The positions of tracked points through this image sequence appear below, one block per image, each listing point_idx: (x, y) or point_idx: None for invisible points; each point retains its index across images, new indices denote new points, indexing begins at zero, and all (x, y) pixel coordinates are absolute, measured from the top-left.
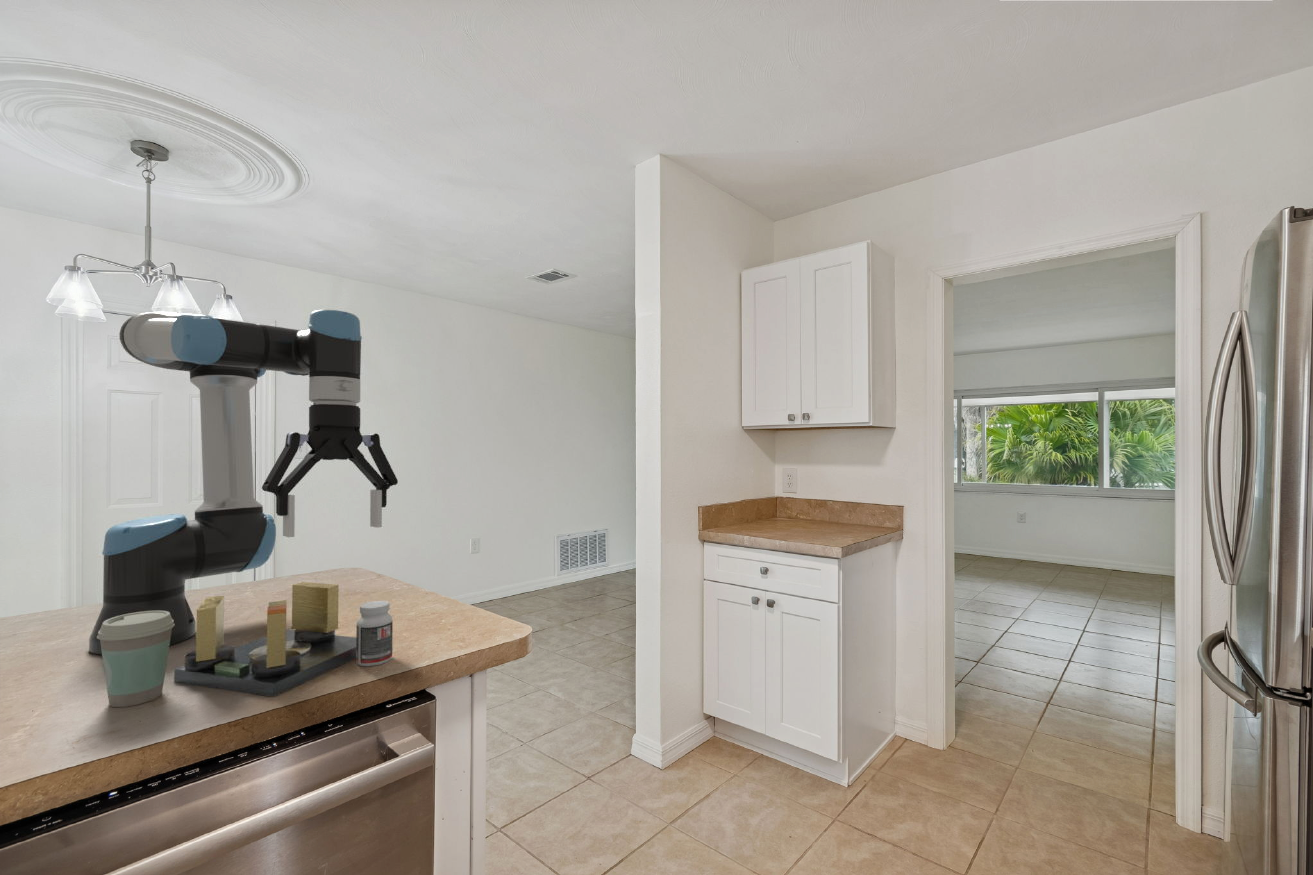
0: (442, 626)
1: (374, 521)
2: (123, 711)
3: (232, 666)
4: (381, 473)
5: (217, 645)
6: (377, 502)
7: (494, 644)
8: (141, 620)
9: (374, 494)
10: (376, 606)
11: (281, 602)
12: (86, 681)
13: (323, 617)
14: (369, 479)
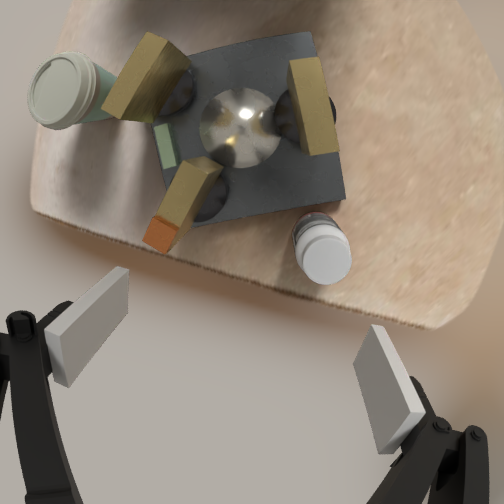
0: (452, 208)
1: (363, 359)
2: (91, 126)
3: (162, 153)
4: (459, 472)
5: (156, 107)
6: (369, 419)
7: (413, 320)
8: (52, 102)
9: (386, 425)
10: (317, 277)
11: (194, 182)
12: (110, 5)
13: (302, 144)
14: (404, 460)
